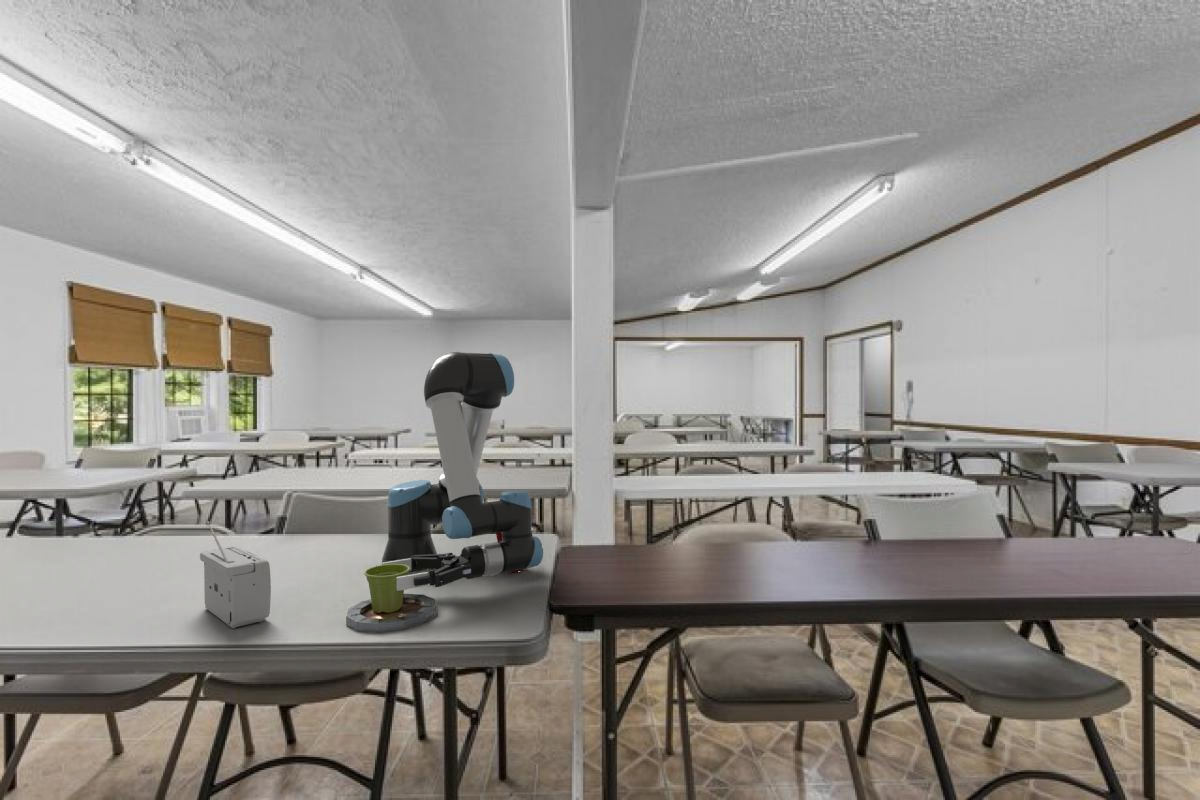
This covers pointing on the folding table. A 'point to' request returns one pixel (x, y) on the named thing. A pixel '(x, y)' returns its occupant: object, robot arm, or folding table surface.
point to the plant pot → (386, 586)
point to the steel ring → (392, 615)
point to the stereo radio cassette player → (236, 585)
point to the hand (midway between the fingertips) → (389, 576)
